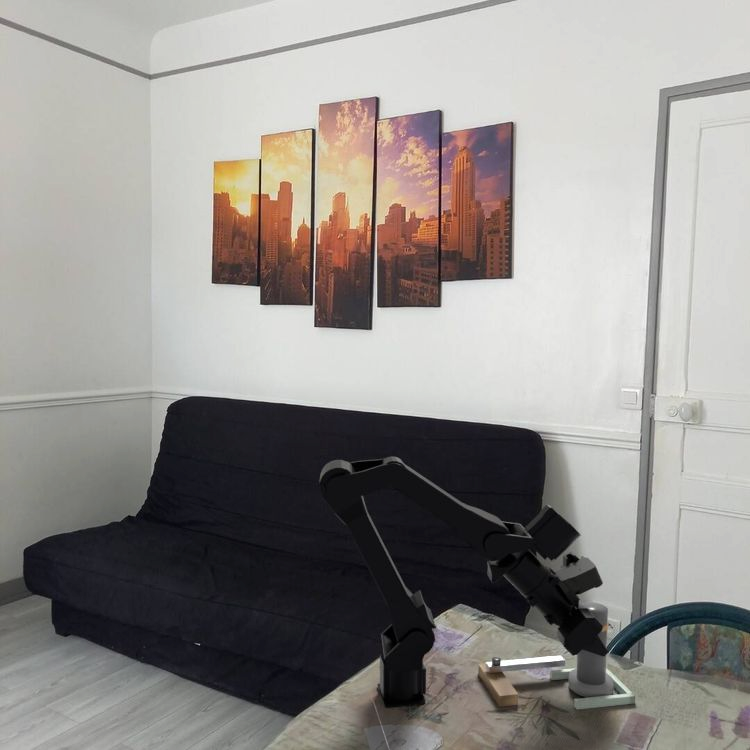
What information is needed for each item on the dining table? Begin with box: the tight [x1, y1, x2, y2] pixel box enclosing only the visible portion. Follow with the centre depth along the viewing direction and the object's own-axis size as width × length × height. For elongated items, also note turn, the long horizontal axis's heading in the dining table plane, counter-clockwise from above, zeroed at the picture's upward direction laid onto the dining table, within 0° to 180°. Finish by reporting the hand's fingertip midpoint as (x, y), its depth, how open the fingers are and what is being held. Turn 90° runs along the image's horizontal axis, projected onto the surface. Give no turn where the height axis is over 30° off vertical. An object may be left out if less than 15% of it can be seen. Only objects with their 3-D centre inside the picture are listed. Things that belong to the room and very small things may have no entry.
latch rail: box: [477, 663, 519, 707], centre depth 112 cm, size 3×10×2 cm, turn 10°
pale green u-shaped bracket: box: [549, 667, 636, 710], centre depth 112 cm, size 10×10×1 cm
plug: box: [567, 601, 614, 698], centre depth 111 cm, size 7×7×13 cm
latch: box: [485, 655, 566, 673], centre depth 115 cm, size 13×2×2 cm, turn 100°
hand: (600, 647), depth 111 cm, fingers closed on plug, 4 cm apart
